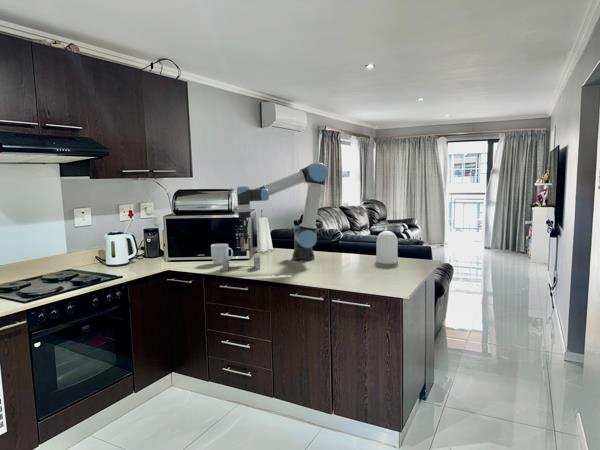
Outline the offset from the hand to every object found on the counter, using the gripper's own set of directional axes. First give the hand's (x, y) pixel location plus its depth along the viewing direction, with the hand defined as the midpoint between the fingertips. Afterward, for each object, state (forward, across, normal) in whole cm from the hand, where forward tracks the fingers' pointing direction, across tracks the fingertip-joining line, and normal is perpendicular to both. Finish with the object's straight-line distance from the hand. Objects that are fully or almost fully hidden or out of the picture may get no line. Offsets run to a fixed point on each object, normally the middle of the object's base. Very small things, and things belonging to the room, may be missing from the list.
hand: (246, 247), depth 260 cm
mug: (+12, -9, -17) cm, 22 cm away
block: (+1, 0, 0) cm, 1 cm away
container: (+14, +4, +89) cm, 90 cm away
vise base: (+12, +12, -4) cm, 17 cm away
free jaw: (+11, +12, +6) cm, 17 cm away
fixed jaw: (+10, +12, -13) cm, 20 cm away
